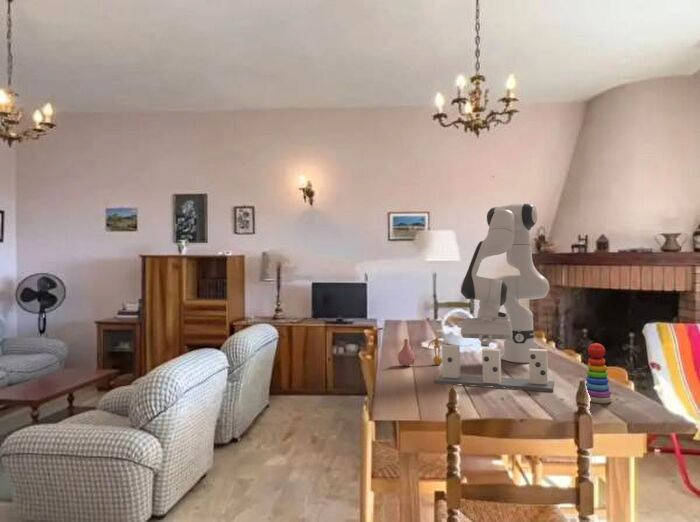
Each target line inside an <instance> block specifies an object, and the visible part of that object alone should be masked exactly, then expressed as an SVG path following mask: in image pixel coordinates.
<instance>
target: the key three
mask: <svg viewBox="0 0 700 522" xmlns="http://www.w3.org/2000/svg"><path fill="white" fill-rule="evenodd" d="M528 367H529V368H528V369H529V370H528V371H529V379H530V384H545V385H547V384H548V381H549V374H548V371H549V370H548V367H549V365H548V349H546V348H545V349H544V348H538V349H529V363H528Z"/></svg>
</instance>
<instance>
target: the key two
mask: <svg viewBox="0 0 700 522" xmlns="http://www.w3.org/2000/svg"><path fill="white" fill-rule="evenodd" d="M501 352H502V351H501V348H489V347H486V348H485V347H484V348H483V349H482V350H481V358H482V361H481V363H482V376H483V383H496V384H500V383H501V377H502V363H501V360H502V359H501V356H502V355H501Z"/></svg>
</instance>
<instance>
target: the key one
mask: <svg viewBox="0 0 700 522" xmlns="http://www.w3.org/2000/svg"><path fill="white" fill-rule="evenodd" d="M460 347H461V346H460V345H456V344H445V345H444V344H443V345H442V346H441V358H442V363H441V364H442V367H441V369H442V374H443V377H445V378H459V377H460V375H461V352H460V350H461V349H460Z"/></svg>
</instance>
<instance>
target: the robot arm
mask: <svg viewBox="0 0 700 522" xmlns="http://www.w3.org/2000/svg"><path fill="white" fill-rule="evenodd" d="M537 220H538V211H537V208H536V206H535V205H534V204H533V203H532V204H531V203H522V204H521V203H513V204H508V205H507V204H506V205H502V206H495V207H491V208H490V209H489V210H488V211H487V213H486V224H487V226H488V232H487V235H486V237H485V238H484V239H483V240H481V241H479V242H478V243H477V245H476V248H475V251H474V252H473V255H472V257H471V260H470V263H469V266H468V269H467V271H466V274H465V276H464V277H463V279H462V281H461V285H460V294H461V295H462V296H463V297H464V298H465V299H466V300H473V301H474V300H476V301H477V300H478V301H479V303H478V304H479V305H478V306H479V308H478V311H477V317H476V318H475V317H466V318H464V319H463V320H462V322H461V329H460V334H461V337H462V338H463V339H478V340H479V341H480V346H481V347H484V348H485V347H486V348H489V347H490V344H491V342H493V340H505V341H503V355H501V360H502V361H506V362H511V363H523V364H529V349H539V343H538V342H537V340H536V339H535V336H536V335H535V334H536V331H535V329H534V314H533V312H532V311H531V309H529V308H528V307H526V306H524V305H522V304H521V303H520V300H539V299H544V298H545V297H547V296H548V294H549V292H550V282H549V281H548V279H547V278H546V277H545V276H543V275H542V274H541V273H540V272H539V271H538V270H537V268H536V267H535V265H534V262H533V254H532V253H533V252H532V236H531V229H532V228H533V227H534V226H535V225H536V223H537ZM505 253H506V254H505ZM503 254H505V256H506V262H507V264H508V265H509V266H511V267H512V268H514V269H517V270H518V271H519V274H517V275H516V274H515V275H513V274H512V275H509V274H508V275H502V276H501V275H500V276H496V277H494V278H488V277H484V276H483V277H482V276H478V274H477V273H478V272H479V268H480V266H481V264H482V261H483V260H484V259H486V258H488V257H492V256H499V255H503ZM502 306H503V307H504V309H505V311H506V313H505V312H502V311H500V309H501V307H502ZM484 339H485V340H484Z"/></svg>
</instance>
